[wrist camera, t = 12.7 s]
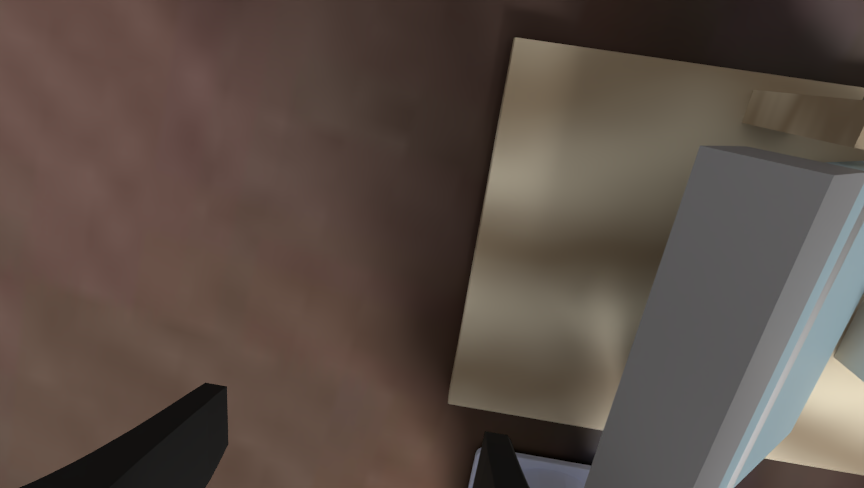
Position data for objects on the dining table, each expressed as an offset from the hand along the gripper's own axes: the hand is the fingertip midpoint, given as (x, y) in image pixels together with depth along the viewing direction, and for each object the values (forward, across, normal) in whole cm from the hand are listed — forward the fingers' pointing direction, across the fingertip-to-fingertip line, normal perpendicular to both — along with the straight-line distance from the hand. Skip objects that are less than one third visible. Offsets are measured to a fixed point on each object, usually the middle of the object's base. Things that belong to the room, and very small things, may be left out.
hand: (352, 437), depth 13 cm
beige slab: (+10, -14, -2) cm, 18 cm away
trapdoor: (+7, -12, -3) cm, 14 cm away
